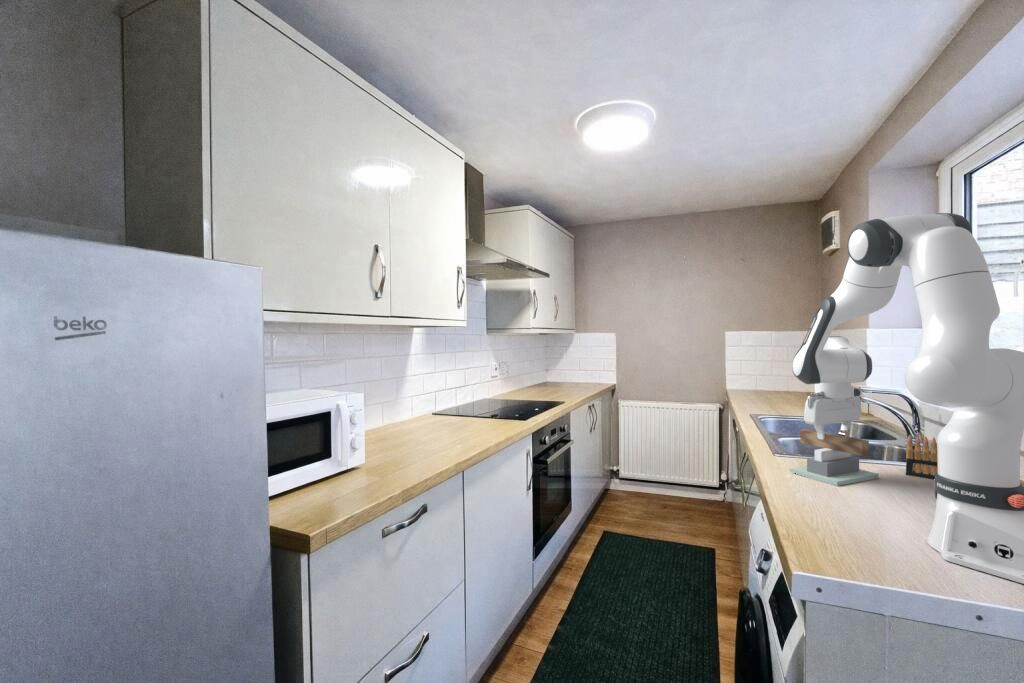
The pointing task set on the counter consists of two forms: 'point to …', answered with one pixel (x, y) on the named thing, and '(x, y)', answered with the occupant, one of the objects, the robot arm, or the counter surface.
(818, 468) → the ridge stand
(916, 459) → the ammunition clip
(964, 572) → the counter surface
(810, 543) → the counter surface
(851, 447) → the walnut batten
